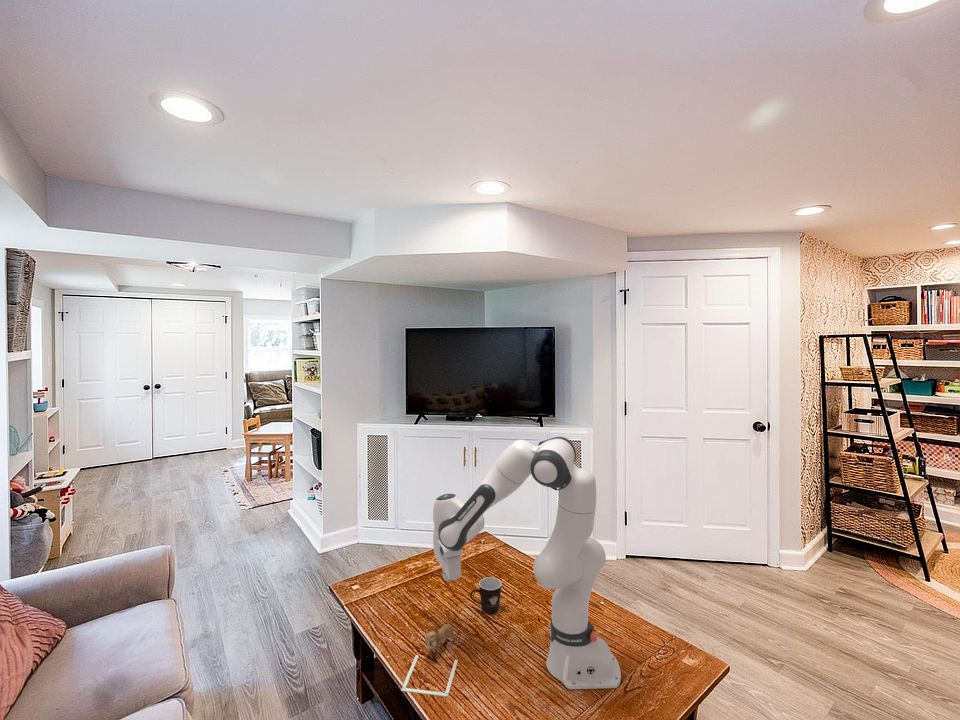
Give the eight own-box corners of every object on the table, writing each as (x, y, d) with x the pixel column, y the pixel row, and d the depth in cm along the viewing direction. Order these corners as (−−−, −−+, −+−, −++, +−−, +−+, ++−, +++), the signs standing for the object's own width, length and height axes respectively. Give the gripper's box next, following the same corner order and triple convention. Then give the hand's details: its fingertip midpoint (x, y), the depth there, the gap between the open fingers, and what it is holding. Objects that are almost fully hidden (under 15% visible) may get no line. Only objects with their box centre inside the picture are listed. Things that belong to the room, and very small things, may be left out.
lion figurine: (434, 666, 141) (434, 638, 141) (420, 660, 144) (420, 633, 143) (459, 638, 154) (459, 613, 153) (446, 633, 157) (445, 608, 156)
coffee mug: (502, 602, 174) (502, 577, 173) (501, 616, 165) (501, 590, 165) (472, 601, 175) (472, 576, 175) (469, 615, 167) (469, 589, 166)
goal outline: (458, 660, 144) (458, 659, 144) (447, 696, 129) (447, 696, 129) (415, 655, 146) (415, 654, 146) (400, 690, 131) (400, 690, 131)
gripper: (429, 529, 165) (429, 566, 166) (445, 555, 146) (446, 596, 147) (445, 526, 167) (446, 562, 168) (464, 552, 148) (464, 592, 149)
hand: (446, 578), depth 157 cm, fingers closed
